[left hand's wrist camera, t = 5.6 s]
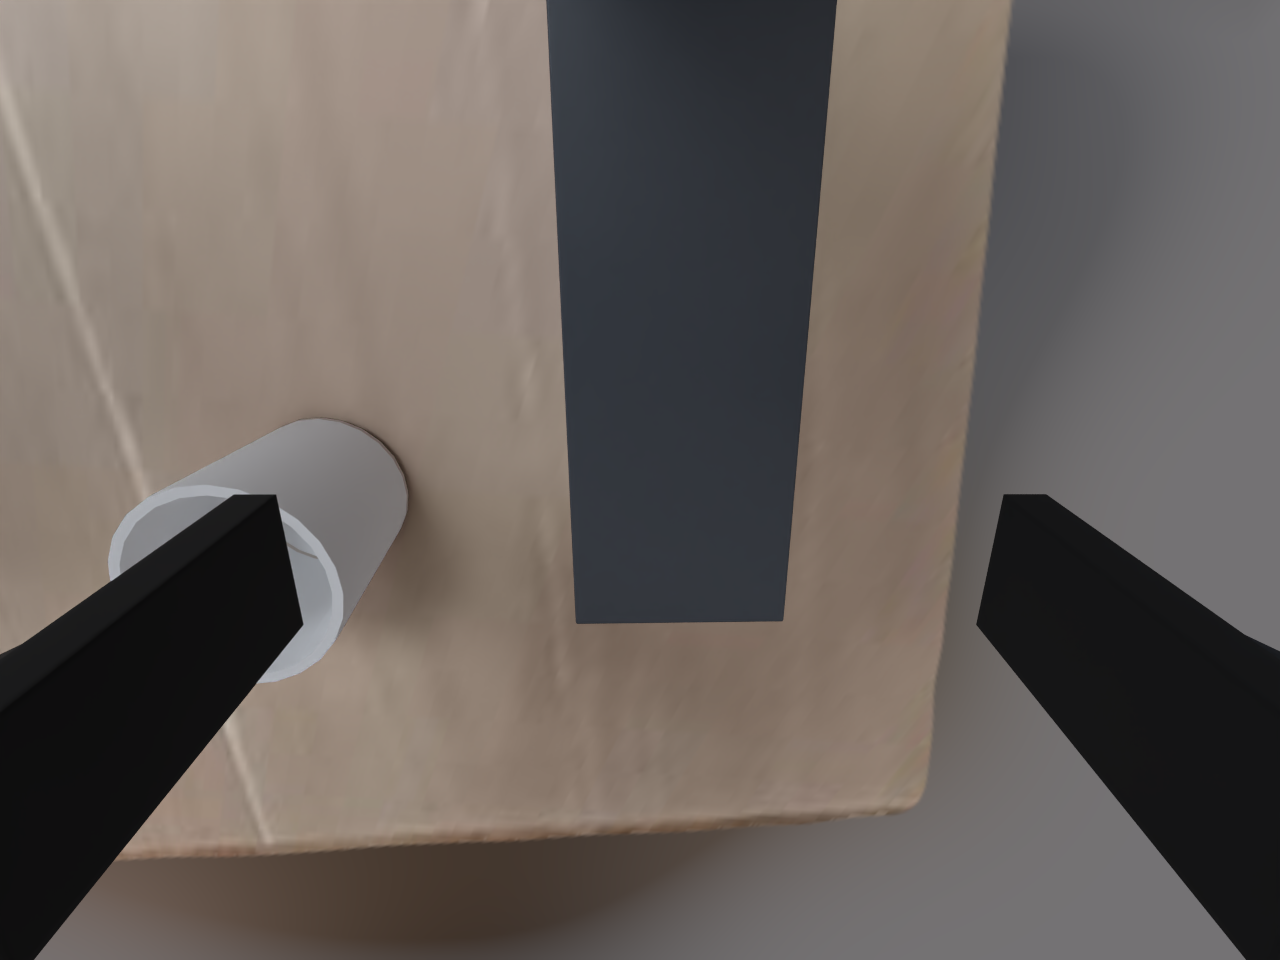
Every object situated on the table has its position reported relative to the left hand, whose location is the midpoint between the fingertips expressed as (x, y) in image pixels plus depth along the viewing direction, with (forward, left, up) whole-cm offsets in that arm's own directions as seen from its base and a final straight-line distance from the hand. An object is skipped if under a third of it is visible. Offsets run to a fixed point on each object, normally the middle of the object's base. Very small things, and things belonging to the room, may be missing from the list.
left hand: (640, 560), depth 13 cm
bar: (+8, +1, -12) cm, 14 cm away
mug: (-13, +14, -23) cm, 30 cm away
